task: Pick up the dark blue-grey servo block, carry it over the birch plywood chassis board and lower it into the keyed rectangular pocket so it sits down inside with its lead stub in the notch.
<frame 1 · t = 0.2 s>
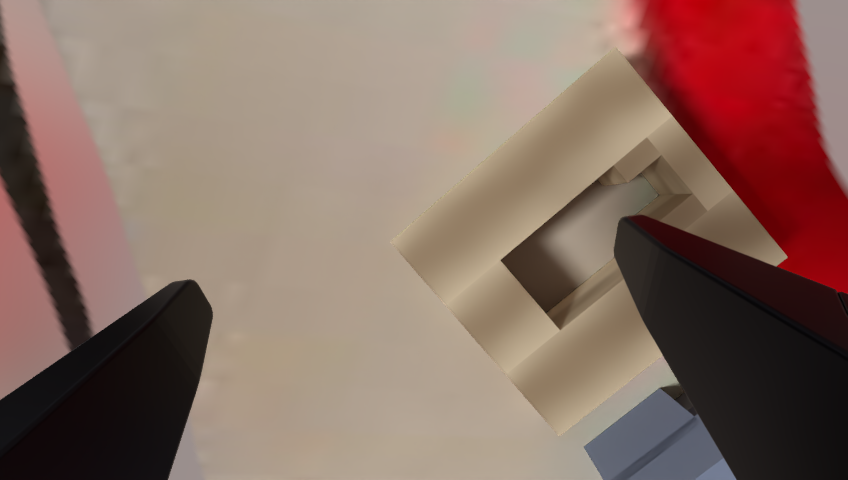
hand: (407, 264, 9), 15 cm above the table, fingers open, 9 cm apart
chassis: (567, 243, 23), on the table
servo: (640, 439, 24), on the table
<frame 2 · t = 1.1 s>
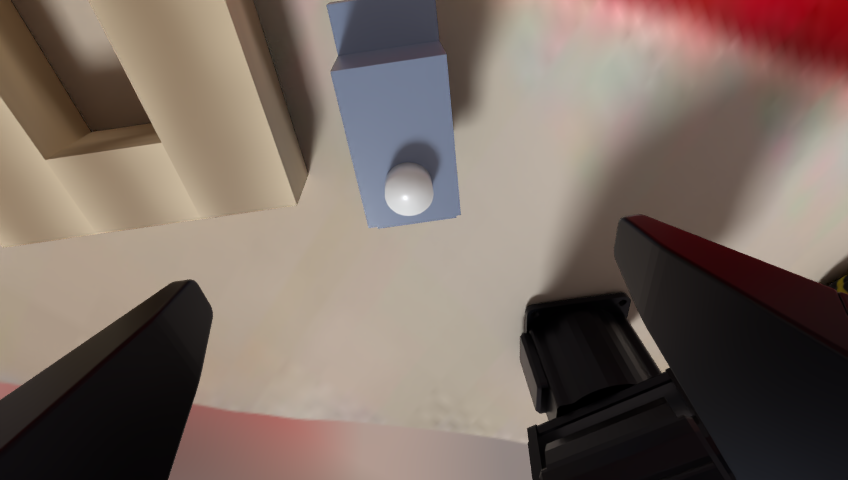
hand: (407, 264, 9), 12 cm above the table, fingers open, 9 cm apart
chassis: (95, 38, 16), on the table
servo: (399, 97, 19), on the table
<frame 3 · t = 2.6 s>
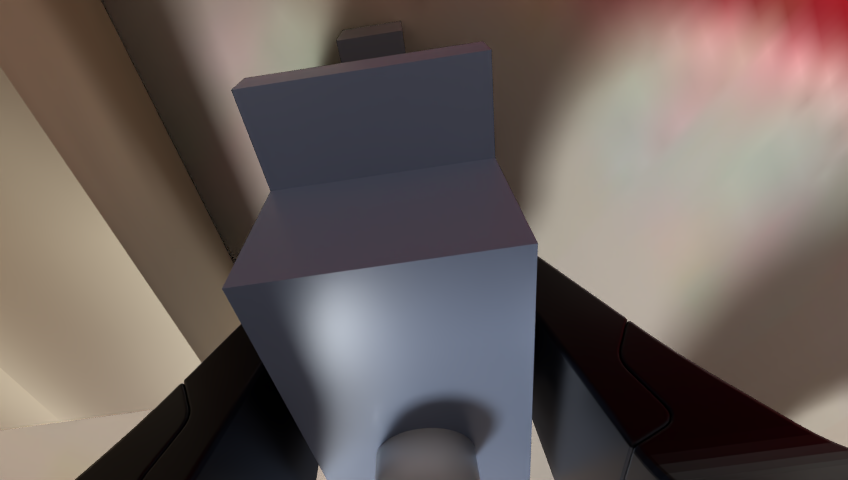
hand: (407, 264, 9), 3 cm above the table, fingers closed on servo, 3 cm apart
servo: (404, 204, 11), on the table, touching gripper
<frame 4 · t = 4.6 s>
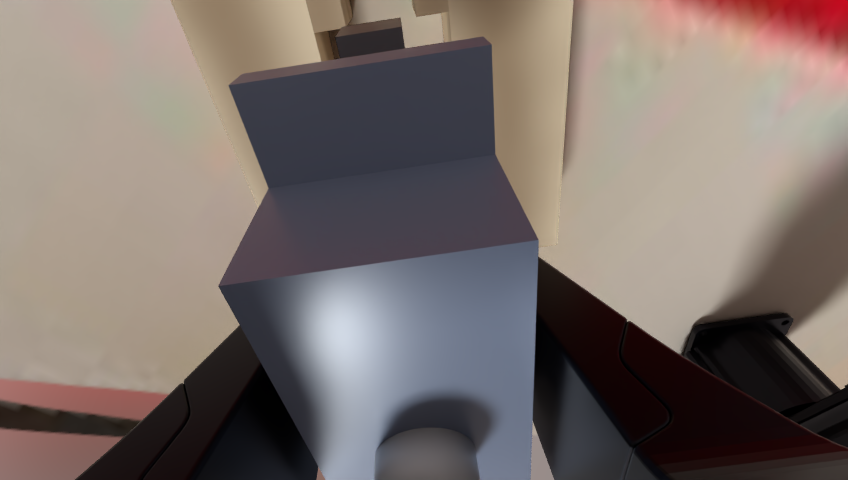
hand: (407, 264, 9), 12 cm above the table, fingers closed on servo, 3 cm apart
chassis: (397, 100, 18), on the table
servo: (404, 203, 11), point 9 cm above the table, touching gripper
when the fingers open (4 cm above the table, at t = 6.2 s): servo drops 1 cm, resting in chassis.
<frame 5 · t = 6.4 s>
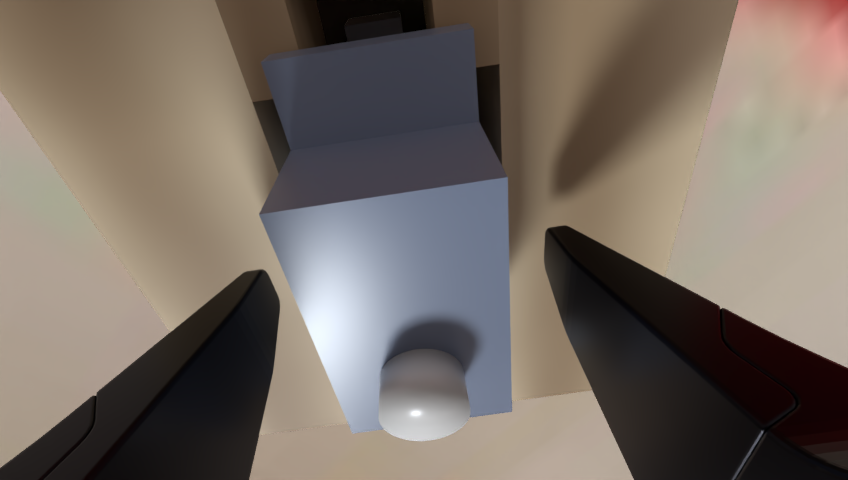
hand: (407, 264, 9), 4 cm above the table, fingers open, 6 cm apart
chassis: (402, 179, 12), on the table
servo: (403, 178, 12), resting in chassis
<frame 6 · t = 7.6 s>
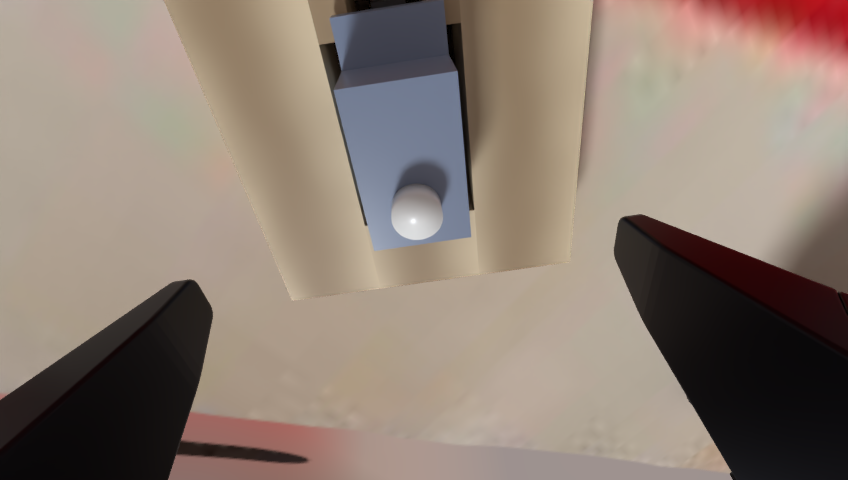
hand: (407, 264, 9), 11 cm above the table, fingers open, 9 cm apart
chassis: (404, 112, 18), on the table
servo: (405, 111, 18), resting in chassis
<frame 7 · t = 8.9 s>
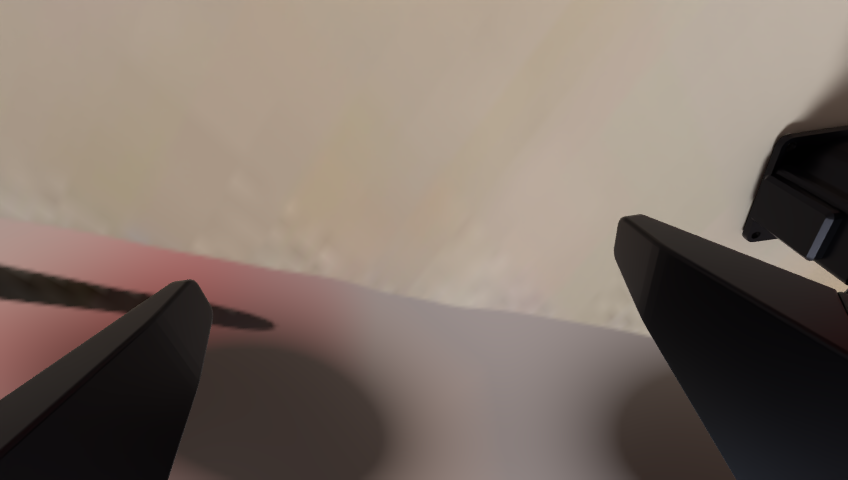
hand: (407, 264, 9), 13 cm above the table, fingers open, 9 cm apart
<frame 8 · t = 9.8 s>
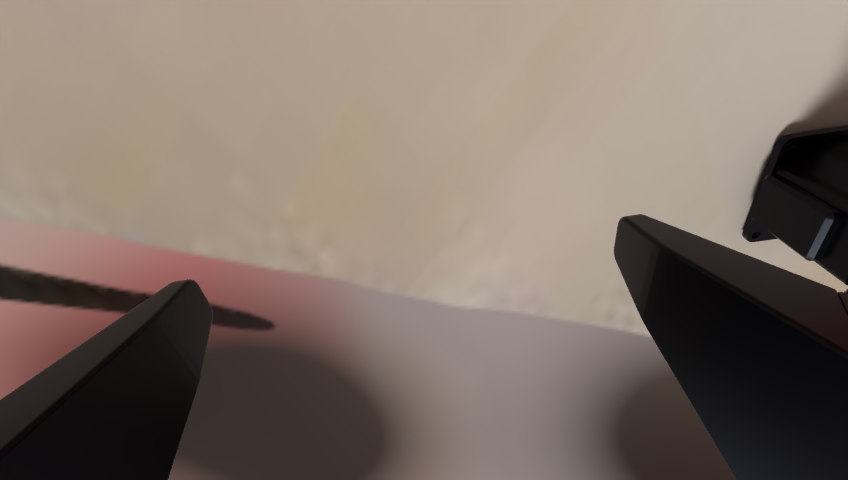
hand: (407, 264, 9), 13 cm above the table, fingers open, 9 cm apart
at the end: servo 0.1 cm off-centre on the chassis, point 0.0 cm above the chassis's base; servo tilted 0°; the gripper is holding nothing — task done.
